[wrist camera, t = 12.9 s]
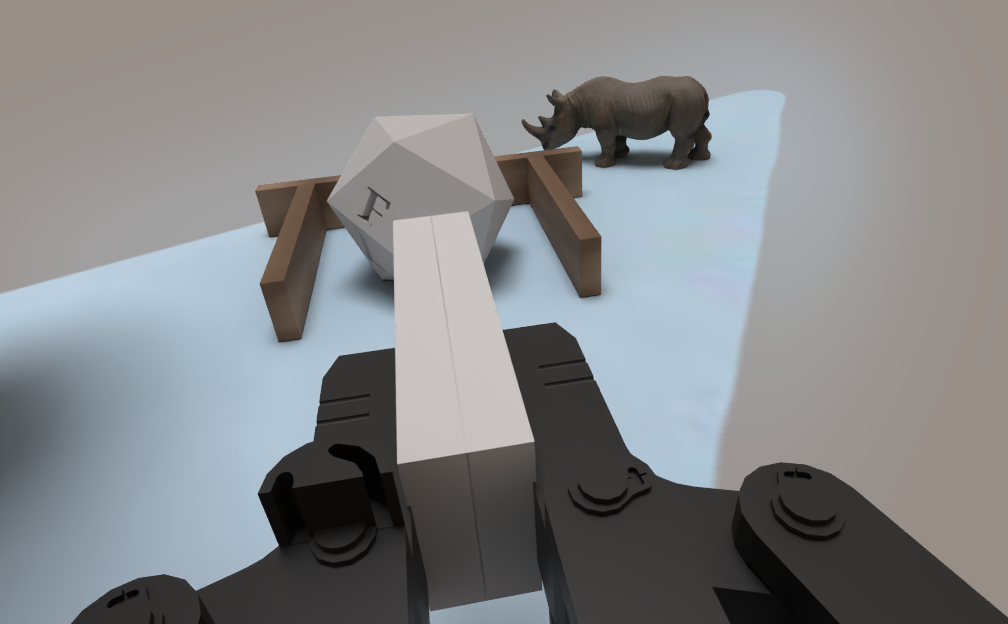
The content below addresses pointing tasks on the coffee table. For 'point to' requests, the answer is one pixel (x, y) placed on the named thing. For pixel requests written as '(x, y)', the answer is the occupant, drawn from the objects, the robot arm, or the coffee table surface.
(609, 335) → the coffee table surface
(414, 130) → the die
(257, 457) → the coffee table surface
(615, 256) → the coffee table surface
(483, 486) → the robot arm
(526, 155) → the frame
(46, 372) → the coffee table surface
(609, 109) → the rhino figurine
